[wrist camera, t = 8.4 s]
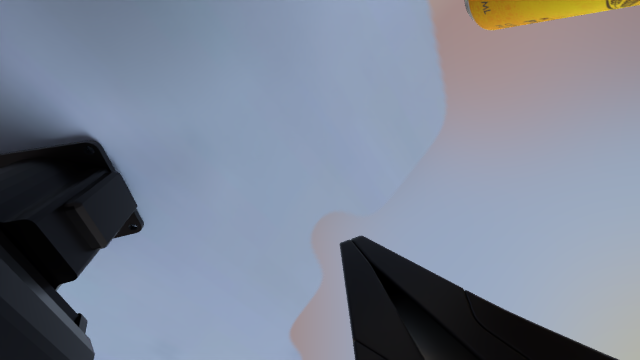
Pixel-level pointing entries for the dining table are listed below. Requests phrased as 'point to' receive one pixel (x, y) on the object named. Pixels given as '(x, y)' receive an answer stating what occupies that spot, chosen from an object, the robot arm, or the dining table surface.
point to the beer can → (535, 10)
